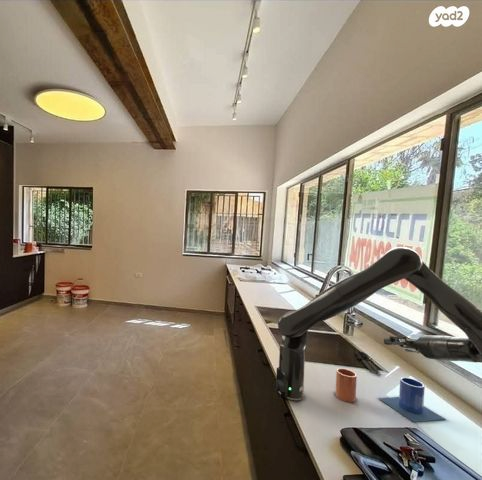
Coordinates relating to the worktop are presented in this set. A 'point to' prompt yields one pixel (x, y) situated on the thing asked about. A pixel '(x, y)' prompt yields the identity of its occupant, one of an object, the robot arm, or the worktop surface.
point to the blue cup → (411, 395)
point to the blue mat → (425, 416)
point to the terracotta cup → (346, 385)
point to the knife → (359, 355)
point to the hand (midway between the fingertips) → (395, 344)
